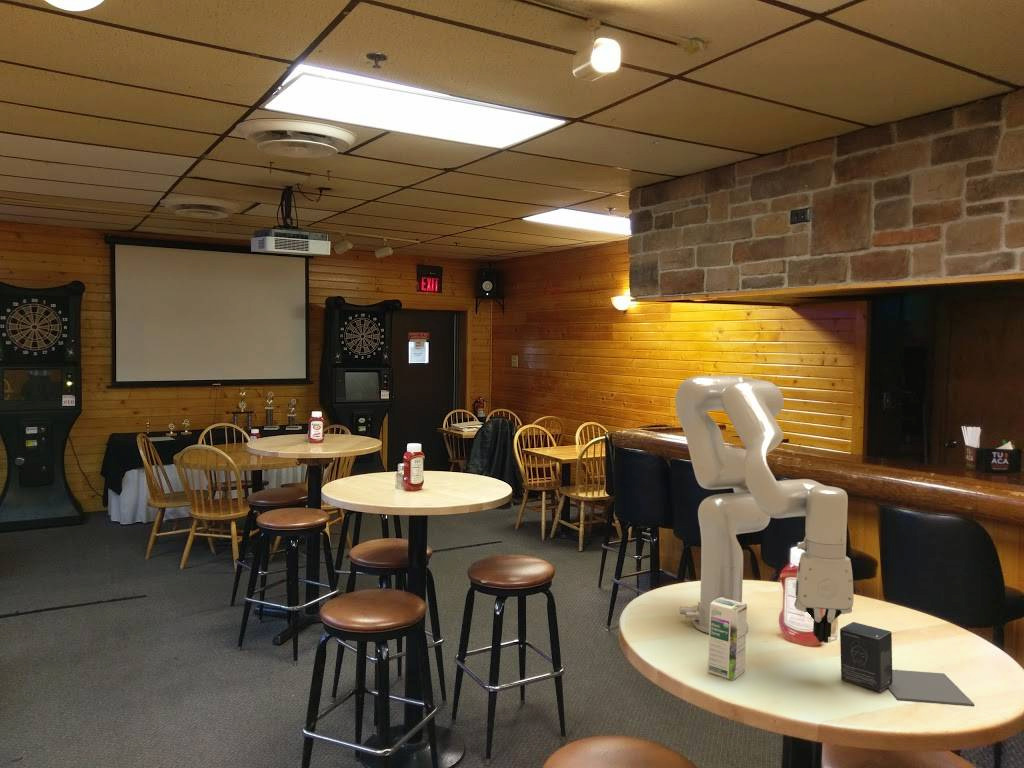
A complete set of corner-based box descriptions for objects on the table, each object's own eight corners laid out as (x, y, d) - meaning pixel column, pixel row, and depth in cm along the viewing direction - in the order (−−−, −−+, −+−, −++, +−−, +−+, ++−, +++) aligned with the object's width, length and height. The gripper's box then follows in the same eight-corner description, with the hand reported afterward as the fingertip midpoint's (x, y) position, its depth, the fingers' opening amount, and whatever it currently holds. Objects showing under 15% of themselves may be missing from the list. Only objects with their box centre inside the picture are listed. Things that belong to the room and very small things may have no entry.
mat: (897, 699, 140) (897, 697, 140) (873, 670, 153) (874, 668, 153) (974, 706, 138) (974, 703, 138) (944, 675, 151) (944, 673, 151)
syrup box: (706, 672, 150) (708, 602, 149) (719, 663, 155) (721, 595, 154) (733, 681, 146) (735, 609, 146) (745, 671, 151) (748, 602, 150)
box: (893, 683, 145) (892, 630, 145) (879, 692, 142) (879, 638, 141) (853, 671, 151) (852, 620, 151) (840, 679, 148) (839, 627, 147)
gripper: (790, 552, 144) (786, 644, 145) (871, 556, 142) (867, 650, 143) (781, 542, 151) (778, 630, 152) (858, 546, 149) (855, 635, 150)
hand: (821, 639), depth 147 cm, fingers closed
